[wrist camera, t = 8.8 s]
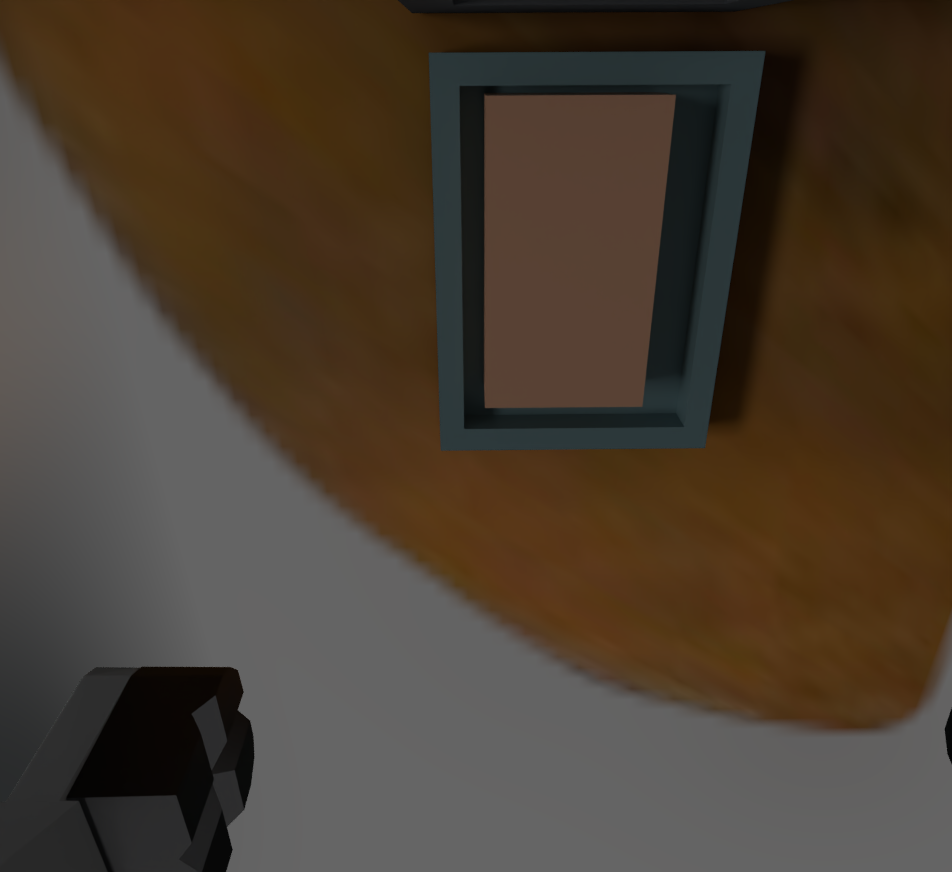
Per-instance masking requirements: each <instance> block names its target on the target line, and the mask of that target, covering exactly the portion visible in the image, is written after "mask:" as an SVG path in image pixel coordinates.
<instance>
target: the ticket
mask: <svg viewBox="0 0 952 872" xmlns="http://www.w3.org/2000/svg"><path fill="white" fill-rule="evenodd" d="M675 100H676V95H674V94H667V93H661V92H575V93H484V398H485V408H551V407H642V405H643V396H644V387H645V378H646V368H647V359H648V350H649V341H650V331H651V322H652V313H653V303H654V294H655V285H656V276H657V266H658V257H659V248H660V239H661V229H662V220H663V211H664V202H665V192H666V183H667V174H668V165H669V155H670V146H671V137H672V127H673V118H674V109H675Z"/></svg>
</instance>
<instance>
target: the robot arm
mask: <svg viewBox="0 0 952 872" xmlns="http://www.w3.org/2000/svg"><path fill="white" fill-rule="evenodd" d="M242 695H243V688H242V684H241V680H240V676H239V673H238V670H236V669H234V668H231V667H141V668H114V667H112V668H111V667H110V668H109V667H105V668H104V667H103V668H102V667H96V668H94V669H93V670H92V671H90V672H89V673H88V674H86V675H85V676H84V677H83V678H82V679H81V681H80V682H79V684H78V685H77V687H76V688H75V690H74V692H73V693H72V695H71V697H70V698H69V700H68V702H67V703H66V705H65V706H64V708H63V710H62V711H61V713H60V715H59V716H58V718H57V720H56V721H55V723H54V724H53V726H52V728H51V729H50V731H49V733H48V734H47V736H46V737H45V739H44V741H43V742H42V744H41V746H40V747H39V749H38V750H37V752H36V754H35V756H34V757H33V759H32V760H31V762H30V764H29V765H28V767H27V769H26V770H25V772H24V773H23V775H22V777H21V778H20V780H19V782H18V783H17V785H16V786H15V788H14V790H13V791H12V793H11V795H10V796H9V798H8V800H7V801H6V802H0V872H226V870H227V867H228V863H229V860H230V857H231V853H232V850H233V849H232V846H231V842H230V838H229V834H228V830H227V826H228V825H229V824H230V823H231V822H232V821H233V820H234V819H235V818H236V817H237V816H238V815H239V814H240V813H241V812H242V811H243V810H244V808H245V805H246V801H247V797H248V794H249V790H250V786H251V780H252V772H253V764H254V740H253V732H252V727H251V723H250V720H249V719H247V718H246V717H245V716H244V715H243V714H241V713H240V712H239V711H238V707H239V704H240V701H241V698H242ZM945 736H946V744H947V754H948V756H949V759H950V761H951V763H952V709H951V712H950V715H949V718H948V721H947V724H946V727H945Z"/></svg>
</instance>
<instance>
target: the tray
mask: <svg viewBox="0 0 952 872" xmlns="http://www.w3.org/2000/svg"><path fill="white" fill-rule="evenodd" d="M764 58H765V51H671V52H487V53H429V72H430V105H431V139H432V172H433V205H434V239H435V272H436V305H437V339H438V372H439V405H440V439H441V450H544V449H649V448H705V444H706V437H707V431H708V424H709V418H710V411H711V405H712V398H713V391H714V385H715V378H716V372H717V365H718V359H719V352H720V346H721V339H722V333H723V326H724V320H725V313H726V306H727V300H728V293H729V287H730V280H731V274H732V267H733V261H734V254H735V248H736V241H737V234H738V228H739V221H740V215H741V208H742V202H743V195H744V189H745V182H746V176H747V169H748V163H749V156H750V149H751V143H752V136H753V130H754V123H755V117H756V110H757V104H758V97H759V91H760V84H761V77H762V71H763V64H764ZM575 92H661V93H667V94H674V95H676V100H675V109H674V118H673V127H672V137H671V146H670V155H669V165H668V174H667V183H666V192H665V202H664V211H663V220H662V229H661V239H660V248H659V257H658V266H657V276H656V285H655V294H654V303H653V313H652V322H651V331H650V341H649V350H648V359H647V368H646V378H645V387H644V396H643V405H642V407H551V408H485V398H484V93H575Z"/></svg>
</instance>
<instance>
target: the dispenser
mask: <svg viewBox="0 0 952 872" xmlns="http://www.w3.org/2000/svg"><path fill="white" fill-rule="evenodd" d="M398 1H399V2H401V3H402V4H403V5H404V6H405V7H406V8H407V9H408V10H409V11H410V12H412V13H533V12H731V11H740V10H745V9H750V8H755V7H760V6H766V5H771V4H776V3H781V2H786V1H792V0H398Z"/></svg>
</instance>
